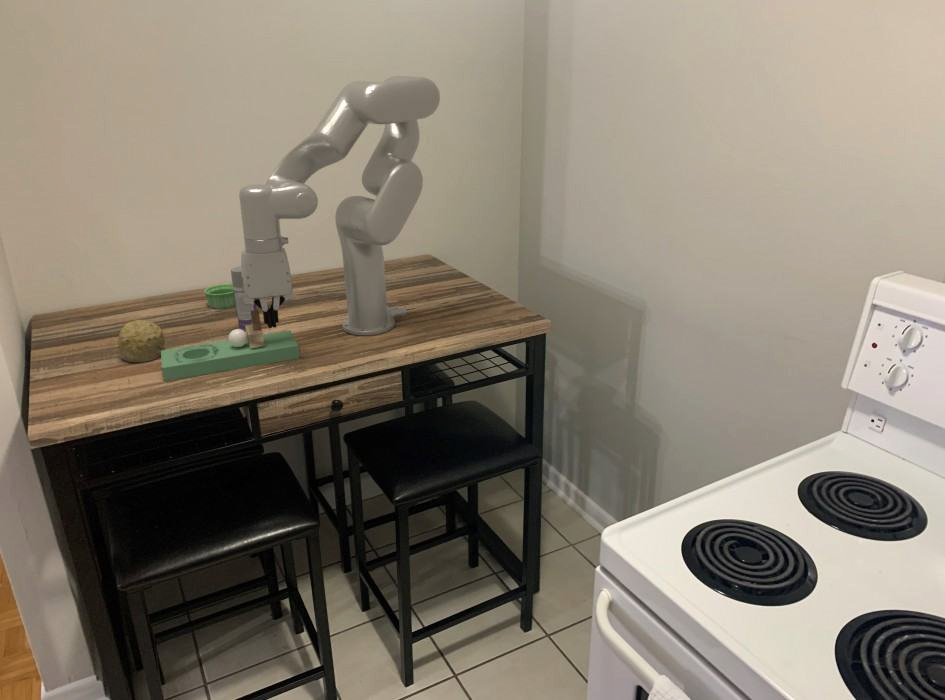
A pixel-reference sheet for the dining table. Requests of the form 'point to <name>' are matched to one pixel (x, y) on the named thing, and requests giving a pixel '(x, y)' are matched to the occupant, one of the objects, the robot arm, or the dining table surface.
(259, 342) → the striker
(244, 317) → the container
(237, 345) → the golf ball
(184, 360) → the putting green
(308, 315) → the dining table surface
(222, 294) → the ramekin
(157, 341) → the rock
